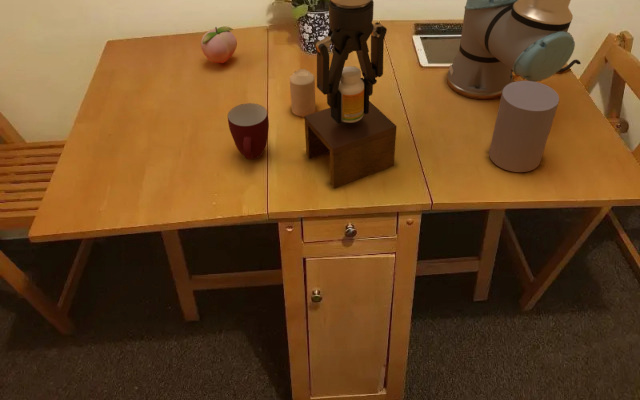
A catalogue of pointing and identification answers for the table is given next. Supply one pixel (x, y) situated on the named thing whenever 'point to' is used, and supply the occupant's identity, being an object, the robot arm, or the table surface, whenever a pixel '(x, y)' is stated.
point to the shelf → (351, 144)
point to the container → (523, 125)
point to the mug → (249, 129)
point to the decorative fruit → (219, 44)
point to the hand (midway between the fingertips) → (349, 114)
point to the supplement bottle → (351, 94)
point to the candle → (302, 92)
